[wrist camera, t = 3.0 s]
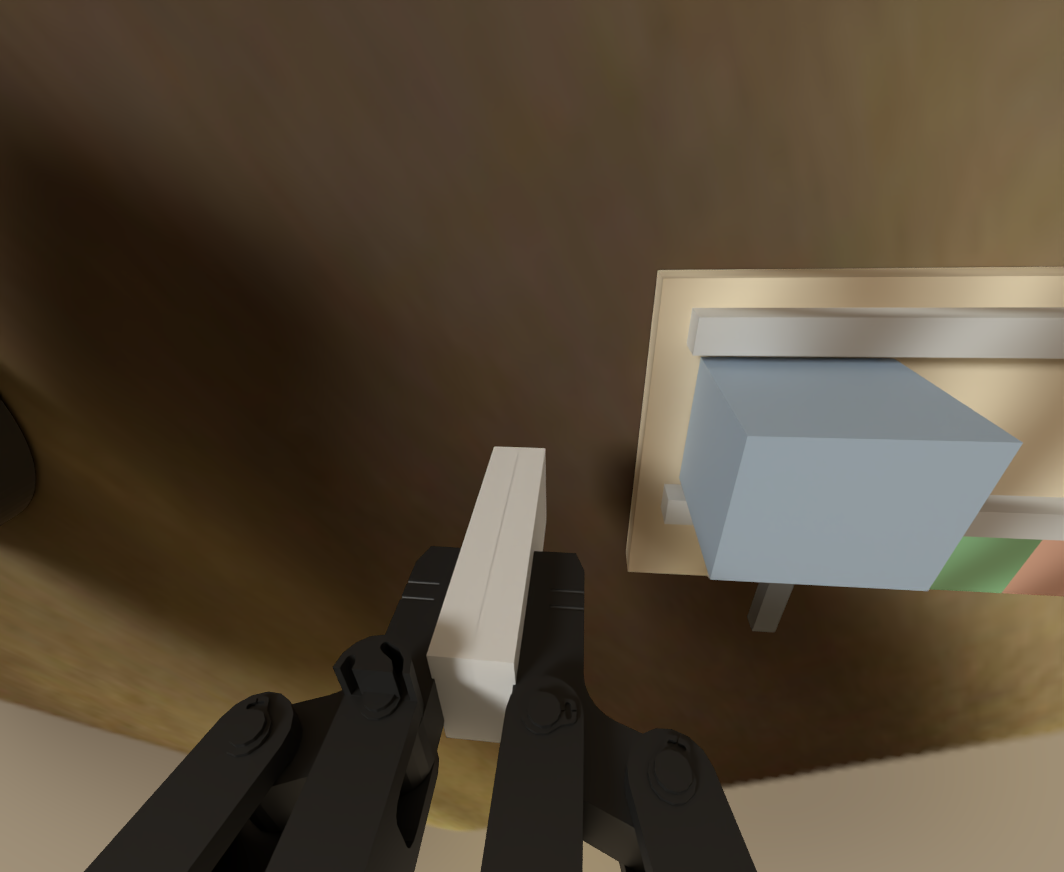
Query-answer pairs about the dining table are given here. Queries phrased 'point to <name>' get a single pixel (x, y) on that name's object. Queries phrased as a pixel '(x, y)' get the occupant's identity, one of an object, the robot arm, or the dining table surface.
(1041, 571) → the gauge base
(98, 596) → the dining table surface
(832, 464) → the carriage
